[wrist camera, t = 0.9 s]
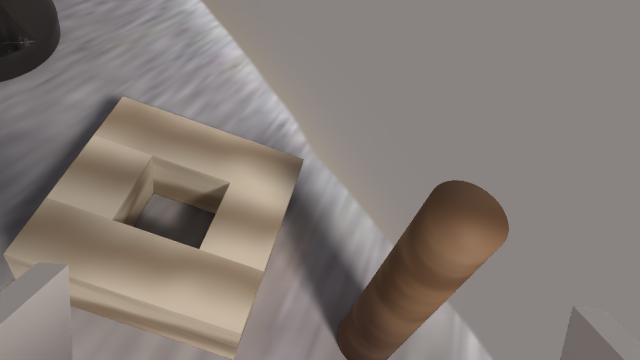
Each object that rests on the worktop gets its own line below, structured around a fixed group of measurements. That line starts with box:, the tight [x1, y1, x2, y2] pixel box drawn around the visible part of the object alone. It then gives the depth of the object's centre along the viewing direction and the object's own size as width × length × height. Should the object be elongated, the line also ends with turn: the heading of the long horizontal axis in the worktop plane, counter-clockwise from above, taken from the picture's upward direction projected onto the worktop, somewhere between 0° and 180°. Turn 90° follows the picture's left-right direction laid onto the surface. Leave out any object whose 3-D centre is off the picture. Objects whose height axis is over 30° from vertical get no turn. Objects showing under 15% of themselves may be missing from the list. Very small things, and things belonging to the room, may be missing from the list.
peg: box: [338, 180, 509, 360], centre depth 34 cm, size 4×4×18 cm
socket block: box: [3, 97, 304, 359], centre depth 40 cm, size 16×16×5 cm
